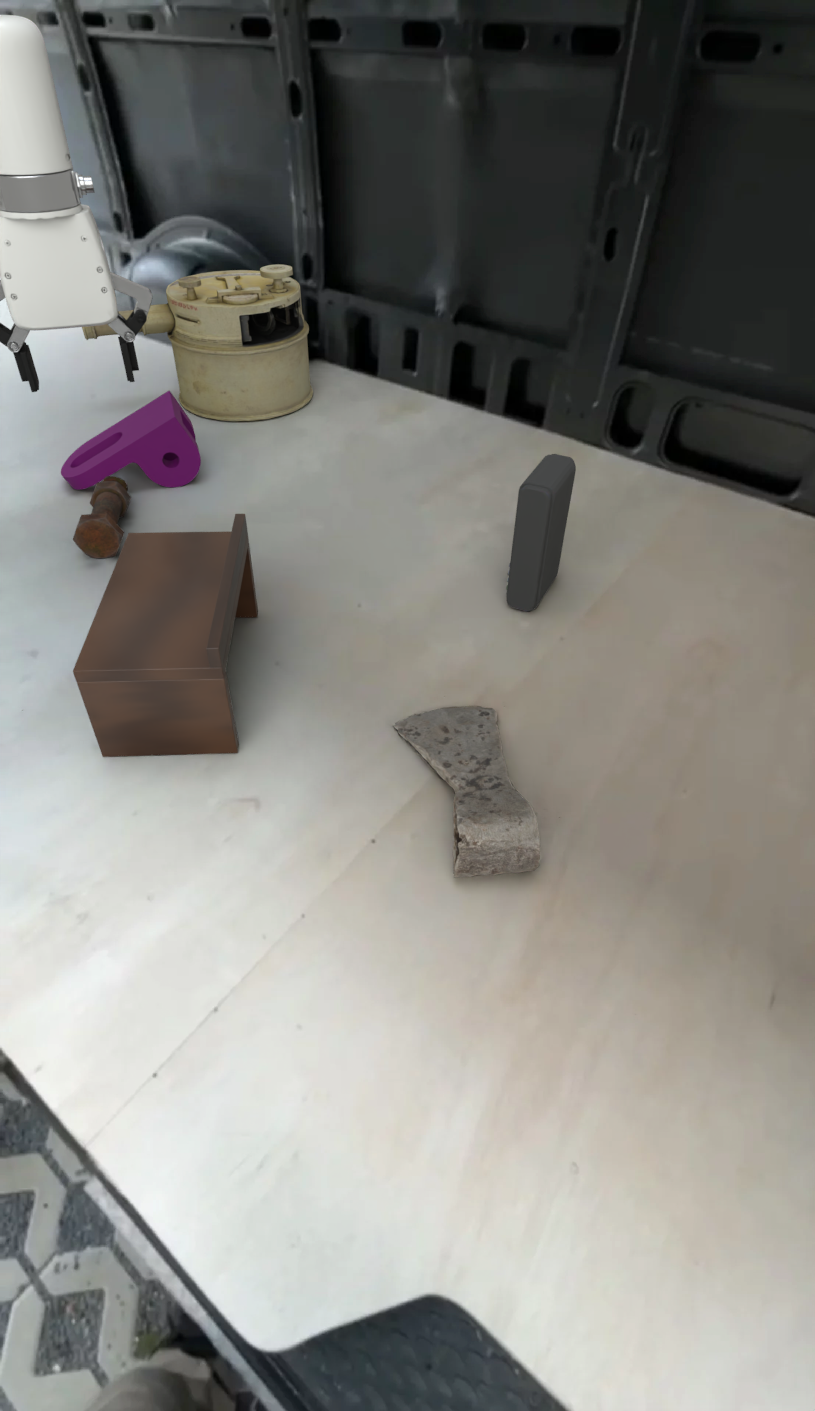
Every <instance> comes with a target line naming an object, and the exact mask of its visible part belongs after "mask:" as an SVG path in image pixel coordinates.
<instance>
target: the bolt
mask: <svg viewBox="0 0 815 1411" xmlns="http://www.w3.org/2000/svg"><path fill="white" fill-rule="evenodd" d="M128 489H129V488H128V483H127V482H126V480H124V479H122V478H121V477H117V476H115V475H113V476H112V475H110V476H106V477H105V478H104V479H103V480H102V481H100V482H98V483H97V484H95V487H94V489H93V492H92V495H91V498H90V500H89V504H90V506H91V507H92V509H91V510H92V511H91V513H89V514H88V513H87V514H80V517H79V520H78V522H77V525H76V528H75V531H74V534H73V536H72V541H73V542H74V543H75V545H76V546H77V547H78V548H79V550H80V551H82V553H83V554H85V555H86V556H87V557H89V558H92V559H107V558H113V557H116V556H117V553H118V551H119V549H120V546H121V543H122V542H123V538H124V535H125V531H124V530H123V528H122V527H121V526H120V525H119V520H120V518H125V515H126V512H127V509H128V508H129V505H130V502H131V498H132V497H131V496H132V495H130V493H129V492H128Z"/></svg>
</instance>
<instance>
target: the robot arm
mask: <svg viewBox="0 0 815 1411" xmlns="http://www.w3.org/2000/svg"><path fill="white" fill-rule="evenodd" d="M93 183H94V182H93V179H92V175H83V174H79V173H78V171H75V170H74V167H73V162H72V158H71V153H70V149H69V143H68V139H67V135H66V130H65V125H64V121H63V117H62V113H61V108H60V104H59V98H58V94H57V90H56V86H55V81H54V77H53V72H52V68H51V64H50V58H49V54H48V50H47V46H46V42H45V39H44V36H43V34H42V32H41V30H40V28H39V27H38V26H37V24H36V23H35V22H34V21H32V20H31V19H29V18H27V17H24V16H21V15H17V14H16V15H15V14H13V15H12V14H0V302H1V301H3V300H4V299H5V302H6V305H7V310H8V312H9V315H10V318H11V320H12V322H13V325H12V326H11V328H9V327H8V326H6V325H5V324H3V323H2V322H0V343H1V344H2V345H4V346H5V347H6V348H7V349H8V350H9V351H10V352H11V353H12V354H13V357H14V360H15V364H16V366H17V370H18V373H19V376H20V379H21V382H24V383H25V382H28V385H29V387H30V391H31V393H37V392H38V391H40V380H39V376H38V372H37V369H36V366H35V363H34V359H33V355H32V352H31V349H30V344H27V342H25V341H26V339H27V337H28V336H29V334H30V332H32V331H50V330H65V329H75V328H82V327H88V326H98V325H105V324H107V325H108V326H110V327H111V328H112V329H113V330H114V331H115V332H116V333H117V334H118V335H119V336H117V338H118V344H119V347H120V354H121V357H122V361H123V366H124V371H125V375H126V379H127V380H126V381H127V382H129V383H134V382H136V381H135V376H134V372H136V371H137V372H138V371H140V367H139V362H138V358H137V357H138V356H137V352H136V347H135V343H134V341H135V340H136V337H137V335H138V334H139V333H140V332H139V331H140V329H141V328H142V327H143V325H144V324H145V322H146V320H147V315H148V312H149V309H150V306H151V305H152V302H153V298H154V296H153V292H152V290H151V288H149V287H146V286H144V285H142V284H140V283H137V282H135V281H133V280H130V279H128V278H126V277H124V276H122V275H119V274H116V273H115V272H112V271H111V268H110V265H109V262H108V258H107V254H106V250H105V246H104V243H103V240H102V236H101V232H100V229H99V227H98V224H97V221H96V219H95V216H94V214H93V211H92V209H91V207H90V206H89V205H88V204H83V203H82V202H81V199H83V198H84V196H87V194H95V193H96V192H95V188H94V184H93ZM116 292H119V293H121V294H124V295H125V296H128V297H130V298H133V299H134V300H135V301H136V302H135V306H134V309H132V310H133V312H132V313H131V315H130V316H129V317H128V319H127V320H126V319H125V318H124V317H123V316H122V315H121V314H119V313H118V311H119V310H118V302H117V296H116ZM138 332H139V333H138Z"/></svg>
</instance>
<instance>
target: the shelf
mask: <svg viewBox="0 0 815 1411" xmlns="http://www.w3.org/2000/svg"><path fill="white" fill-rule="evenodd" d="M232 522H233V523H232V527H231V531H174V532H173V531H172V532H171V531H168V532H167V531H166V532H163V531H162V532H161V531H159V532H128V534H127V535H126V537H125V541H124V543H123V545H122V548H121V550H120V553H119V556H118V558H117V560H116V563H115V564H114V568H113V570H112V573H111V575H110V576H109V579H108V582H107V585H106V587H105V590H104V593H103V595H102V597H101V600H100V603H99V605H98V607H97V610H96V613H95V615H94V617H93V620H92V622H91V625H90V627H89V630H88V632H87V635H86V637H85V640H84V642H83V645H82V647H81V649H80V652H79V654H78V656H77V660H76V661H75V664H74V667H73V670H72V673H73V676H74V679H75V682H76V684H77V687H78V690H79V693H80V696H81V699H82V701H83V704H84V707H85V711H86V713H87V716H88V719H89V722H90V725H91V727H92V730H93V733H94V736H95V740H96V742H97V744H98V747H99V748H98V749H99V751H100V754H101V757H102V758H105V757H106V758H113V757H114V758H115V757H147V756H149V757H150V756H184V755H185V756H186V755H187V756H189V755H190V756H191V755H219V754H223V755H224V754H225V755H227V754H238V753H239V747H240V742H239V736H238V731H237V724H236V719H235V713H234V707H233V702H232V697H231V696H232V695H231V690H230V685H229V679H228V674H227V666H228V660H229V654H230V648H231V645H232V644H231V643H232V637H233V632H234V627H235V621H236V619H240V618H241V619H242V618H244V619H245V618H246V619H247V618H249V619H250V618H258V617H259V616H258V614H259V606H258V600H257V592H256V585H255V577H254V570H253V562H252V554H251V548H250V539H249V533H248V532H249V531H248V524H247V516H246V513H235V514H234V517H233V521H232Z"/></svg>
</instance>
